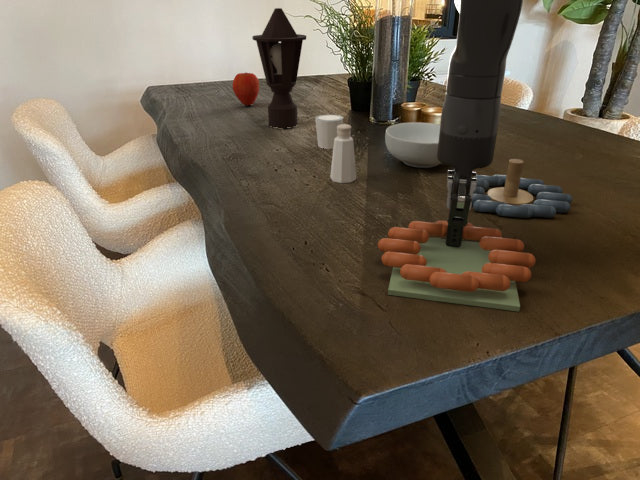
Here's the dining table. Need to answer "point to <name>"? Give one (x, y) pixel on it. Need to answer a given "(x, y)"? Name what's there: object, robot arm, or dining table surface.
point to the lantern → (280, 67)
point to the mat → (455, 263)
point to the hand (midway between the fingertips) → (453, 240)
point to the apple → (246, 87)
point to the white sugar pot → (327, 129)
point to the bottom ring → (544, 206)
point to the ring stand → (512, 187)
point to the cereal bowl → (414, 143)
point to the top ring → (494, 276)
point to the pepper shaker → (343, 156)
